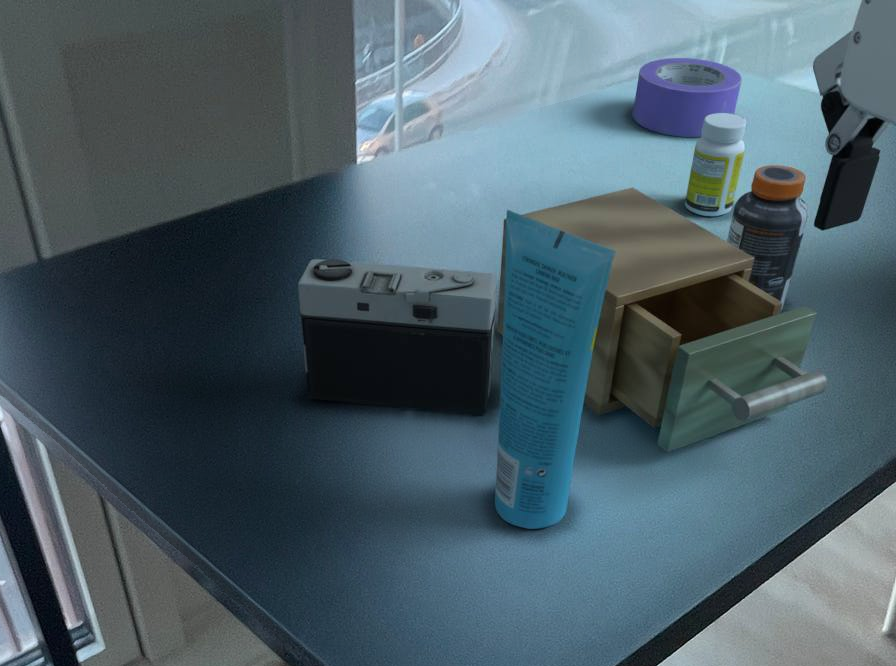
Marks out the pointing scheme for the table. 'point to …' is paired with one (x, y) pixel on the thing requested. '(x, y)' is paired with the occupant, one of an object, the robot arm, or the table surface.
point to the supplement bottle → (716, 165)
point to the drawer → (711, 359)
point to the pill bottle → (771, 227)
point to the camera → (398, 335)
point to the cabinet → (634, 265)
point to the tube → (544, 365)
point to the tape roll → (684, 94)
